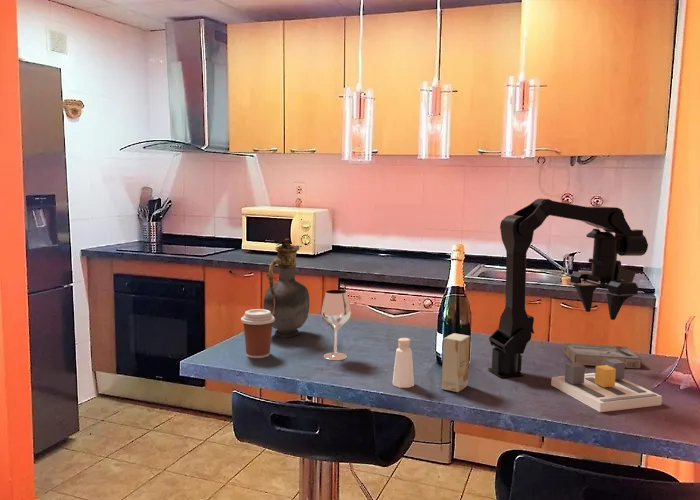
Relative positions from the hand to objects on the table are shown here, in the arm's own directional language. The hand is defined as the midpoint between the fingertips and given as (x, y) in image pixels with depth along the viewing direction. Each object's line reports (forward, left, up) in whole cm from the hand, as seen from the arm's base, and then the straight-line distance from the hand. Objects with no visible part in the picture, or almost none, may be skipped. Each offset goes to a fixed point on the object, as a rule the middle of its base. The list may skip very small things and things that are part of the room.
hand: (600, 315), depth 154 cm
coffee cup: (-84, +33, -14) cm, 91 cm away
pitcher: (-73, +51, -14) cm, 90 cm away
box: (+5, +5, -15) cm, 16 cm away
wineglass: (-64, +26, -14) cm, 70 cm away
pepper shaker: (-54, +1, -14) cm, 56 cm away
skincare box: (-43, -4, -14) cm, 45 cm away
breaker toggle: (-12, -17, -11) cm, 24 cm away
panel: (-12, -17, -14) cm, 25 cm away
